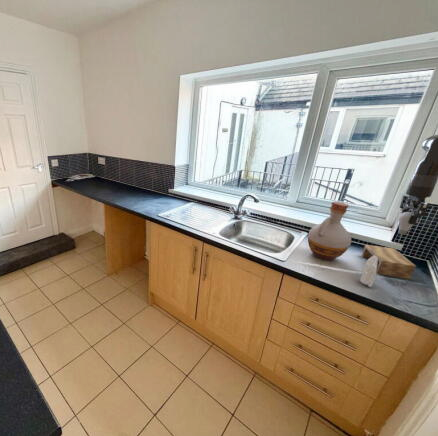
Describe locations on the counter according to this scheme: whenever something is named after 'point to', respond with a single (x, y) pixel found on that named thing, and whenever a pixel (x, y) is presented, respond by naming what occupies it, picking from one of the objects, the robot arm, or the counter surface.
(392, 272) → the wooden wedge block
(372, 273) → the pale stone slab
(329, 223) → the jug
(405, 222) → the lightbulb
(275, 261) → the counter surface
